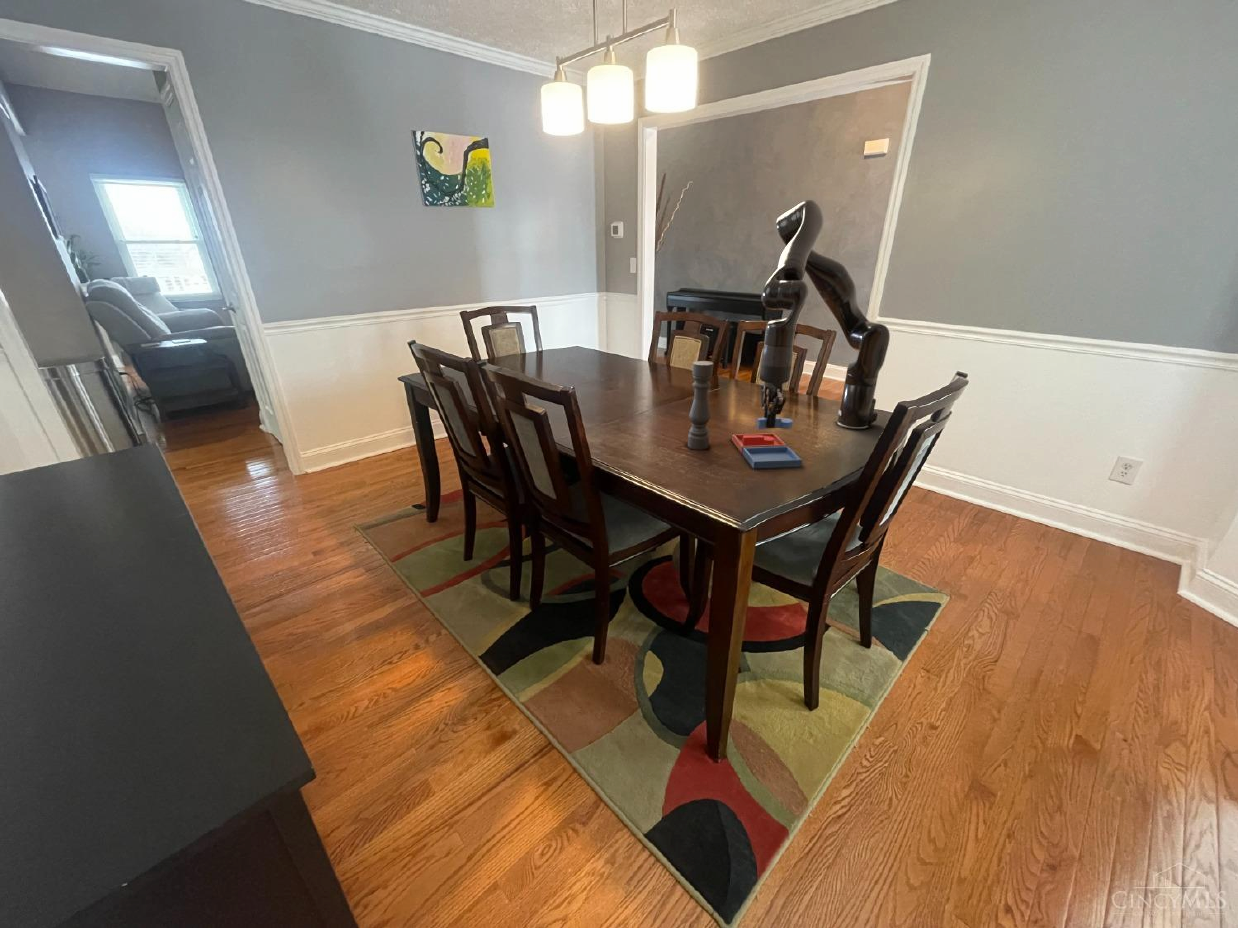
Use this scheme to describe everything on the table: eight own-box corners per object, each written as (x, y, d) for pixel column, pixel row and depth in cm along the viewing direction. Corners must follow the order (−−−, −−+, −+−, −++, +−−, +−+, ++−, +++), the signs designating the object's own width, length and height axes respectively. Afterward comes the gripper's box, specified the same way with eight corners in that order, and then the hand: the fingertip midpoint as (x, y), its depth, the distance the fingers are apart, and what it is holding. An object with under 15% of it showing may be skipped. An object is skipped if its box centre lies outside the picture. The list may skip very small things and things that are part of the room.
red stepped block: (744, 447, 145) (745, 438, 144) (740, 442, 149) (741, 434, 148) (775, 446, 146) (776, 437, 145) (771, 441, 149) (772, 433, 148)
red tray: (773, 439, 152) (774, 433, 151) (786, 451, 143) (786, 445, 142) (731, 440, 152) (732, 434, 151) (741, 452, 142) (742, 446, 141)
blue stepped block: (759, 430, 131) (760, 421, 130) (755, 425, 135) (756, 416, 134) (794, 428, 132) (795, 419, 131) (788, 424, 135) (790, 415, 134)
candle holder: (709, 443, 149) (715, 361, 139) (706, 450, 144) (712, 366, 134) (689, 441, 151) (694, 360, 141) (685, 448, 146) (689, 364, 136)
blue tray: (787, 452, 142) (787, 446, 141) (801, 466, 133) (802, 460, 132) (742, 454, 142) (742, 447, 141) (753, 468, 132) (754, 461, 131)
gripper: (801, 368, 120) (791, 434, 127) (781, 356, 133) (773, 417, 140) (771, 368, 120) (763, 435, 127) (753, 357, 132) (747, 418, 139)
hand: (768, 425), depth 133 cm, fingers closed on blue stepped block, 2 cm apart
